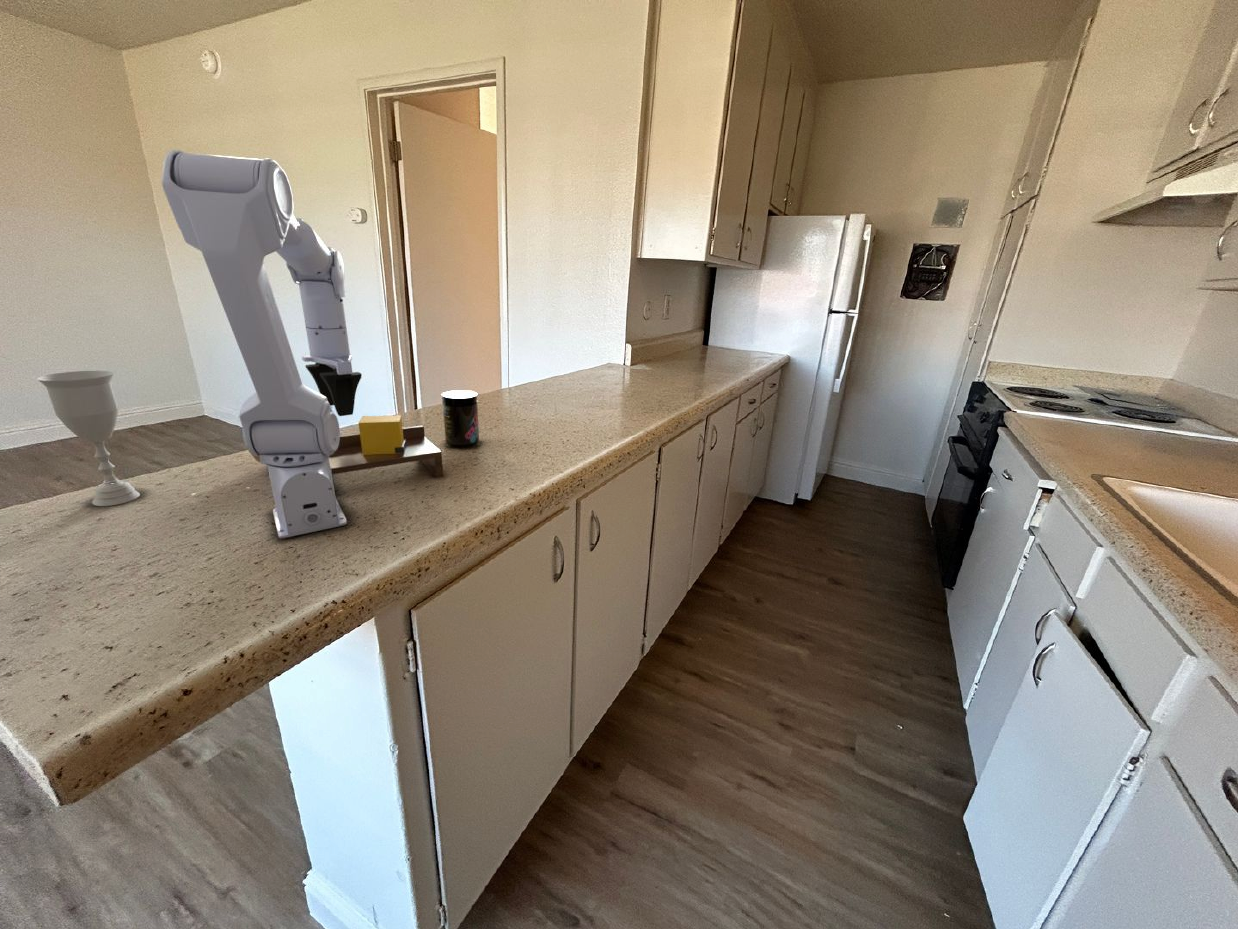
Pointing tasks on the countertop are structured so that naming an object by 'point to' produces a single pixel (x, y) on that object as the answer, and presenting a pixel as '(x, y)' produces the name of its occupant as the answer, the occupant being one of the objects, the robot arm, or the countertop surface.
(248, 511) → the countertop surface
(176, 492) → the countertop surface
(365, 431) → the tape measure
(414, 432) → the shelf
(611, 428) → the countertop surface
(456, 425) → the supplement container
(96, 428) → the chalice
